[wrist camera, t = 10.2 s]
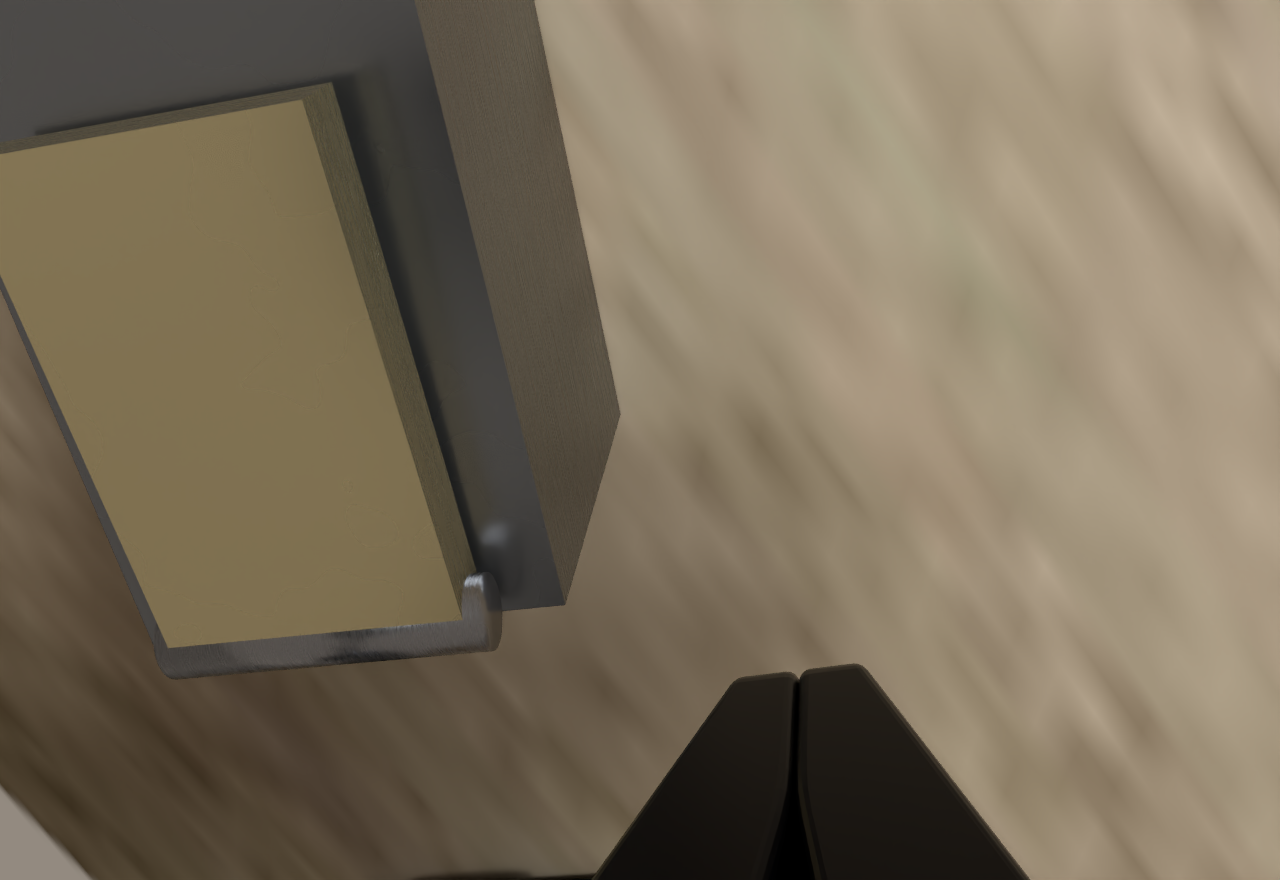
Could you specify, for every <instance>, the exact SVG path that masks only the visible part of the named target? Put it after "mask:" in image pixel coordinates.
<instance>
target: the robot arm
mask: <svg viewBox="0 0 1280 880" xmlns="http://www.w3.org/2000/svg"><path fill="white" fill-rule="evenodd" d="M572 880H1030V879H1029V877H1028V876H1027V875H1026V874H1025V872H1024V871H1023V870H1022V868H1021V867H1020V866H1019V865H1018V863H1017V862H1016V861H1015V859H1014V858H1013V857H1012V856H1011V854H1010V853H1009V852H1008V850H1007V849H1006V848H1005V847H1004V845H1003V844H1002V843H1001V841H1000V840H999V839H998V838H997V836H996V835H995V834H994V832H993V831H992V830H991V829H990V827H989V826H988V825H987V823H986V822H985V821H984V819H983V818H982V817H981V816H980V814H979V813H978V812H977V810H976V809H975V808H974V807H973V805H972V804H971V803H970V801H969V800H968V799H967V798H966V796H965V795H964V794H963V792H962V791H961V790H960V789H959V787H958V786H957V785H956V783H955V782H954V781H953V780H952V778H951V777H950V776H949V774H948V773H947V772H946V771H945V769H944V768H943V767H942V765H941V764H940V763H939V762H938V760H937V759H936V758H935V756H934V755H933V754H932V753H931V751H930V750H929V749H928V747H927V746H926V745H925V744H924V742H923V741H922V740H921V738H920V737H919V736H918V734H917V733H916V732H915V731H914V729H913V728H912V727H911V725H910V724H909V723H908V722H907V720H906V719H905V718H904V716H903V715H902V714H901V713H900V711H899V710H898V709H897V707H896V706H895V705H894V704H893V702H892V701H891V700H890V698H889V697H888V696H887V695H886V693H885V692H884V691H883V689H882V688H881V687H880V686H879V684H878V683H877V682H876V680H875V679H874V678H873V677H872V675H871V674H870V673H869V671H868V670H867V669H866V668H865V667H863V666H862V665H859V664H846V665H838V666H830V667H821V668H813V669H808V670H806V671H805V672H804V673H803V674H802V675H801V677H800V680H799V679H798V677H797V676H796V675H795V674H793V673H791V672H780V673H772V674H764V675H755V676H747V677H742V678H738V679H737V680H736V681H734V682H733V683H732V684H731V685H730V687H729V688H728V689H727V691H726V692H725V694H724V695H723V696H722V698H721V699H720V701H719V702H718V703H717V705H716V706H715V708H714V709H713V710H712V712H711V713H710V715H709V716H708V717H707V719H706V720H705V722H704V723H703V724H702V726H701V727H700V729H699V730H698V731H697V733H696V734H695V736H694V737H693V738H692V740H691V741H690V743H689V744H688V745H687V747H686V748H685V750H684V751H683V752H682V754H681V755H680V757H679V758H678V759H677V761H676V762H675V764H674V765H673V766H672V768H671V769H670V771H669V772H668V773H667V775H666V776H665V778H664V779H663V780H662V782H661V783H660V785H659V786H658V787H657V789H656V790H655V792H654V793H653V794H652V796H651V797H650V799H649V800H648V801H647V803H646V804H645V806H644V807H643V808H642V810H641V811H640V813H639V814H638V815H637V817H636V818H635V820H634V821H633V822H632V824H631V825H630V827H629V828H628V829H627V831H626V832H625V833H624V835H623V836H622V838H621V839H620V840H619V842H618V843H617V845H616V846H615V847H614V849H613V850H612V852H611V853H610V854H609V856H608V857H607V859H606V860H605V861H604V863H603V864H602V866H601V867H600V868H599V870H598V871H597V873H596V874H595V875H594V877H593V878H591V879H572Z"/></svg>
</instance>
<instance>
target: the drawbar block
mask: <svg viewBox="0 0 1280 880" xmlns="http://www.w3.org/2000/svg"><path fill="white" fill-rule="evenodd" d="M329 82H332V84H333V87H334V91H335V94H336V98H337V101H338V104H339V108H340V111H341V114H342V118H343V121H344V125H345V128H346V131H347V135H348V138H349V142H350V145H351V148H352V152H353V155H354V158H355V162H356V165H357V169H358V172H359V175H360V179H361V182H362V185H363V189H364V192H365V196H366V199H367V202H368V206H369V209H370V212H371V216H372V219H373V223H374V226H375V229H376V233H377V236H378V240H379V243H380V246H381V250H382V253H383V256H384V260H385V263H386V267H387V270H388V273H389V277H390V280H391V283H392V287H393V290H394V294H395V297H396V300H397V304H398V307H399V311H400V314H401V317H402V321H403V324H404V327H405V331H406V334H407V338H408V341H409V344H410V348H411V351H412V354H413V358H414V361H415V365H416V368H417V371H418V375H419V378H420V381H421V385H422V388H423V392H424V395H425V398H426V402H427V405H428V409H429V412H430V415H431V419H432V422H433V425H434V429H435V432H436V436H437V439H438V442H439V446H440V449H441V452H442V456H443V459H444V463H445V466H446V469H447V473H448V476H449V480H450V483H451V486H452V490H453V493H454V496H455V500H456V503H457V507H458V510H459V513H460V517H461V520H462V523H463V527H464V530H465V534H466V537H467V540H468V544H469V547H470V550H471V554H472V557H473V561H474V564H475V567H476V571H477V573H480V572H489V573H491V574H492V576H493V577H494V579H495V581H496V583H497V586H498V589H499V593H500V598H501V605H502V611H508V610H518V609H529V608H539V607H550V606H560V605H565V604H566V600H567V597H568V593H569V590H570V587H571V583H572V580H573V576H574V573H575V569H576V566H577V563H578V559H579V556H580V552H581V549H582V545H583V542H584V538H585V535H586V532H587V528H588V525H589V521H590V518H591V514H592V511H593V507H594V504H595V501H596V497H597V494H598V490H599V487H600V483H601V480H602V476H603V473H604V470H605V466H606V463H607V459H608V456H609V452H610V449H611V446H612V442H613V439H614V435H615V432H616V428H617V425H618V421H619V418H620V410H619V405H618V400H617V395H616V391H615V386H614V381H613V376H612V371H611V367H610V362H609V357H608V352H607V348H606V343H605V338H604V333H603V328H602V324H601V319H600V314H599V309H598V304H597V300H596V295H595V290H594V285H593V281H592V276H591V271H590V266H589V261H588V257H587V252H586V247H585V242H584V237H583V233H582V228H581V223H580V218H579V214H578V209H577V204H576V199H575V194H574V190H573V185H572V180H571V175H570V170H569V166H568V161H567V156H566V151H565V147H564V142H563V137H562V132H561V127H560V123H559V118H558V113H557V108H556V103H555V99H554V94H553V89H552V84H551V80H550V75H549V70H548V65H547V60H546V56H545V51H544V46H543V41H542V36H541V32H540V27H539V22H538V17H537V13H536V8H535V3H534V0H0V142H6V141H11V140H17V139H22V138H27V137H33V136H38V135H44V134H49V133H55V132H60V131H66V130H71V129H77V128H82V127H88V126H93V125H99V124H104V123H110V122H115V121H121V120H126V119H132V118H137V117H142V116H148V115H153V114H159V113H164V112H170V111H175V110H181V109H186V108H192V107H197V106H203V105H208V104H214V103H219V102H225V101H230V100H236V99H241V98H247V97H252V96H258V95H263V94H268V93H274V92H279V91H285V90H290V89H296V88H301V87H307V86H312V85H318V84H323V83H329ZM0 289H1V291H2V294H3V296H4V298H5V301H6V303H7V305H8V308H9V310H10V312H11V315H12V317H13V319H14V322H15V324H16V326H17V329H18V331H19V333H20V336H21V338H22V340H23V343H24V345H25V347H26V350H27V352H28V354H29V357H30V359H31V361H32V364H33V366H34V368H35V371H36V373H37V375H38V378H39V380H40V382H41V385H42V387H43V389H44V391H45V394H46V396H47V398H48V401H49V403H50V405H51V408H52V410H53V412H54V415H55V417H56V419H57V422H58V424H59V426H60V429H61V431H62V433H63V436H64V438H65V440H66V443H67V445H68V447H69V450H70V452H71V454H72V457H73V459H74V461H75V464H76V466H77V468H78V471H79V473H80V475H81V478H82V480H83V482H84V485H85V487H86V489H87V492H88V494H89V496H90V499H91V501H92V503H93V505H94V508H95V510H96V512H97V515H98V517H99V519H100V522H101V524H102V526H103V529H104V531H105V533H106V536H107V538H108V540H109V543H110V545H111V547H112V550H113V552H114V554H115V557H116V559H117V561H118V564H119V566H120V568H121V571H122V573H123V575H124V578H125V580H126V582H127V585H128V587H129V589H130V592H131V594H132V596H133V599H134V601H135V603H136V606H137V608H138V610H139V613H140V615H141V617H142V619H143V622H144V624H145V626H146V629H147V631H148V633H149V636H150V638H151V640H152V643H153V645H154V630H155V626H156V620H155V618H154V615H153V613H152V611H151V609H150V607H149V604H148V602H147V600H146V598H145V595H144V593H143V591H142V589H141V587H140V584H139V582H138V580H137V578H136V575H135V573H134V571H133V569H132V567H131V564H130V562H129V560H128V558H127V555H126V553H125V551H124V549H123V547H122V544H121V542H120V540H119V538H118V535H117V533H116V531H115V529H114V527H113V524H112V522H111V520H110V518H109V515H108V513H107V511H106V509H105V507H104V504H103V502H102V500H101V498H100V495H99V493H98V491H97V489H96V487H95V484H94V482H93V480H92V478H91V475H90V473H89V471H88V469H87V467H86V464H85V462H84V460H83V458H82V455H81V453H80V451H79V449H78V447H77V444H76V442H75V440H74V438H73V436H72V433H71V431H70V429H69V427H68V424H67V422H66V420H65V418H64V416H63V413H62V411H61V409H60V407H59V404H58V402H57V400H56V398H55V396H54V393H53V391H52V389H51V387H50V384H49V382H48V380H47V378H46V376H45V373H44V371H43V369H42V367H41V364H40V362H39V360H38V358H37V356H36V353H35V351H34V349H33V347H32V344H31V342H30V340H29V338H28V336H27V333H26V331H25V329H24V327H23V324H22V322H21V320H20V318H19V316H18V313H17V311H16V309H15V307H14V304H13V302H12V300H11V298H10V296H9V293H8V291H7V289H6V287H5V284H4V282H3V280H2V278H1V276H0Z"/></svg>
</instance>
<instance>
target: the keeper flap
mask: <svg viewBox="0 0 1280 880" xmlns="http://www.w3.org/2000/svg"><path fill="white" fill-rule="evenodd" d="M0 276H1V278H2V280H3V282H4V284H5V287H6V289H7V291H8V293H9V296H10V298H11V300H12V302H13V304H14V307H15V309H16V311H17V313H18V316H19V318H20V320H21V322H22V324H23V327H24V329H25V331H26V333H27V336H28V338H29V340H30V342H31V344H32V347H33V349H34V351H35V353H36V356H37V358H38V360H39V362H40V364H41V367H42V369H43V371H44V373H45V376H46V378H47V380H48V382H49V384H50V387H51V389H52V391H53V393H54V396H55V398H56V400H57V402H58V404H59V407H60V409H61V411H62V413H63V416H64V418H65V420H66V422H67V424H68V427H69V429H70V431H71V433H72V436H73V438H74V440H75V442H76V444H77V447H78V449H79V451H80V453H81V455H82V458H83V460H84V462H85V464H86V467H87V469H88V471H89V473H90V475H91V478H92V480H93V482H94V484H95V487H96V489H97V491H98V493H99V495H100V498H101V500H102V502H103V504H104V507H105V509H106V511H107V513H108V515H109V518H110V520H111V522H112V524H113V527H114V529H115V531H116V533H117V535H118V538H119V540H120V542H121V544H122V547H123V549H124V551H125V553H126V555H127V558H128V560H129V562H130V564H131V567H132V569H133V571H134V573H135V575H136V578H137V580H138V582H139V584H140V587H141V589H142V591H143V593H144V595H145V598H146V600H147V602H148V604H149V607H150V609H151V611H152V613H153V615H154V618H155V620H156V626H155V630H154V652H155V656H156V660H157V663H158V665H159V667H160V669H161V670H162V672H163V673H164V674H165V675H166V676H167V677H169V678H171V679H187V678H198V677H209V676H220V675H231V674H242V673H254V672H265V671H276V670H287V669H298V668H309V667H320V666H331V665H342V664H353V663H365V662H376V661H387V660H398V659H409V658H420V657H431V656H442V655H453V654H464V653H475V652H487V651H494V650H496V649H497V647H498V645H499V643H500V639H501V633H502V605H501V598H500V593H499V589H498V586H497V583H496V581H495V579H494V577H493V576H492V574H491V573H489V572H480V573H477V571H476V567H475V564H474V561H473V557H472V554H471V550H470V547H469V544H468V540H467V537H466V534H465V530H464V527H463V523H462V520H461V517H460V513H459V510H458V507H457V503H456V500H455V496H454V493H453V490H452V486H451V483H450V480H449V476H448V473H447V469H446V466H445V463H444V459H443V456H442V452H441V449H440V446H439V442H438V439H437V436H436V432H435V429H434V425H433V422H432V419H431V415H430V412H429V409H428V405H427V402H426V398H425V395H424V392H423V388H422V385H421V381H420V378H419V375H418V371H417V368H416V365H415V361H414V358H413V354H412V351H411V348H410V344H409V341H408V338H407V334H406V331H405V327H404V324H403V321H402V317H401V314H400V311H399V307H398V304H397V300H396V297H395V294H394V290H393V287H392V283H391V280H390V277H389V273H388V270H387V267H386V263H385V260H384V256H383V253H382V250H381V246H380V243H379V240H378V236H377V233H376V229H375V226H374V223H373V219H372V216H371V212H370V209H369V206H368V202H367V199H366V196H365V192H364V189H363V185H362V182H361V179H360V175H359V172H358V169H357V165H356V162H355V158H354V155H353V152H352V148H351V145H350V142H349V138H348V135H347V131H346V128H345V125H344V121H343V118H342V114H341V111H340V108H339V104H338V101H337V98H336V94H335V91H334V87H333V84H332V82H329V83H323V84H318V85H312V86H307V87H301V88H296V89H290V90H285V91H279V92H274V93H268V94H263V95H258V96H252V97H247V98H241V99H236V100H230V101H225V102H219V103H214V104H208V105H203V106H197V107H192V108H186V109H181V110H175V111H170V112H164V113H159V114H153V115H148V116H142V117H137V118H132V119H126V120H121V121H115V122H110V123H104V124H99V125H93V126H88V127H82V128H77V129H71V130H66V131H60V132H55V133H49V134H44V135H38V136H33V137H27V138H22V139H17V140H11V141H6V142H0Z"/></svg>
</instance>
